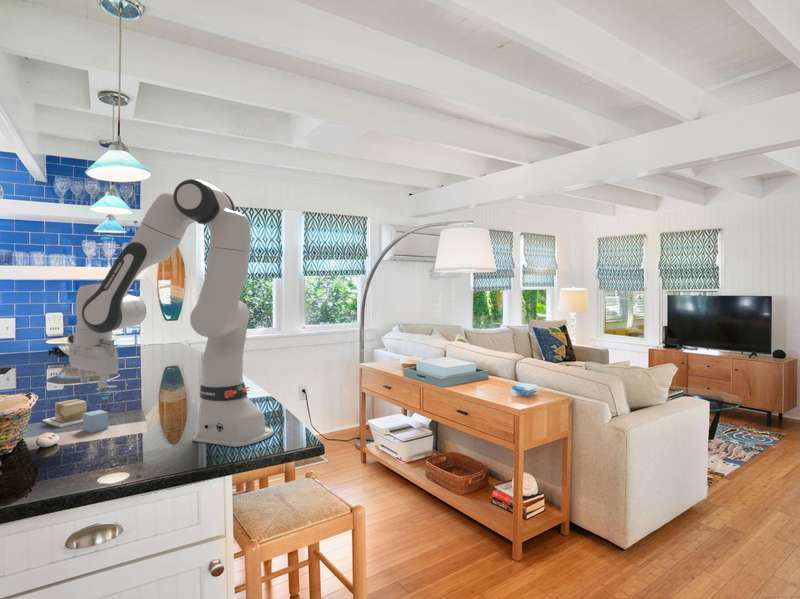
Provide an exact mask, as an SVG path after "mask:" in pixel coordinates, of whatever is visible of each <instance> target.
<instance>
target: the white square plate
mask: <svg viewBox="0 0 800 599" xmlns="http://www.w3.org/2000/svg"><path fill="white" fill-rule="evenodd" d="M42 422H43V423H46V424H48V425H52V426H54V427H57V428H63V427H69V426H72V425H77V424H83V418H81V419H77V420H72V421H68V422H63V421H60V420H57V419H55V416H53V417H50V418H45V419H42Z"/></svg>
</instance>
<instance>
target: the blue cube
mask: <svg viewBox="0 0 800 599" xmlns="http://www.w3.org/2000/svg"><path fill="white" fill-rule="evenodd" d="M108 429H109V412H108V411H105V410H102V409H97V410H91V411H87V413H83V422H82V431H84V432H88V433H90V434H92V433H96V432H101V431H104V430H108Z"/></svg>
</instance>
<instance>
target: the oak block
mask: <svg viewBox="0 0 800 599" xmlns="http://www.w3.org/2000/svg"><path fill="white" fill-rule="evenodd" d="M87 409H88V408H87V401H86V400H82V399H79V398H75V399H69V400H64V401H59V402H54V410H55V411H54V413H55V414H54V417H55V419H57V420H60V421H63V422H68V421H72V420H77V419H81V418H83V413H87V412H88V410H87Z"/></svg>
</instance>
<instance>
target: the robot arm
mask: <svg viewBox="0 0 800 599" xmlns="http://www.w3.org/2000/svg"><path fill="white" fill-rule="evenodd" d="M235 209H236V208H235V204H234V202H233V200H232V198H231V197H230V196H229V195H228V194H227V193H225V192H224V191H222V190H221V189H219V188H218V187H216V186H214V185H213V184H210V183H208V182H205V181H203V180H201V179H196V178H192V179H191V178H189V179H185V180H183V181H181V182H180V183H178V185H177V186H176V187H175V189H174V191H173V193H171V192H164V193H161V194H160V195H158V196H157V197H156V198H155V199H154V201H153V202H152V204H151V205H150V207H149V208H148V210H147V211H146V214H145V215H144V217H143V219H142V221H141V223H140V225H139V227H138V229H137V230H136V232H135V234H134V235H133V237H132V239H131V240H130V241H129V242H128V244H127V245H126V246H125V247H124V248H123V249H122V250H121V251H120V254H119V255H118V256H117V258H116V260H115V261H114V262H113V265H112V266H111V268H110V269H109V271H108V273H107V274H106V275H105V278H104V279H103V281H102V282H91V283H90V282H89V283H85V284H83V285H81V286H79V287H78V290H77V293H76V295H75V296H76V297H75V317H76V325H75V328H74V329H75V330H74V332H73V333H71V334H69V335H67V343H68V344H69V346H68V361H69V364H70V366H71V367H72V368H76V369H77V371H78V375H79V377H80V383H81V384H83V385H86V384H87V385H88V384H90V383H91V382H90V378H91V377H89V374H88V372H89V371H90V372H92V373H93V372H94V373H98V376H99V380H98V381H97V387H98V388H99V389H105V388H107V387H108V380H109V378H110V375H112V374H116V373H118V371H119V367H120V366H119V355H118V349H117V348H116V346H115V345H114V344H113V331H115V330H116V331H117V330H122V329H126V328H127V329H128V328H132V327H136V326H137V325H140V324H141V323H142V322H143V321H144V320H145V318H146V316H147V307H146V305H145V302H144V301H143V299H141V297H139V296H136V295H132V294H128V292H129V290H130V289H131V287H132V285H133V283H134V282H135V281H136V279H137V278H138V275H139V274H141V272H143V271H144V270H146V269H147V268H148V267H151V266H153V265H156V264H158V263H161V262H164V261H167V260H169V258H171V257H172V256H173V255H174V253H176V251H177V249H178V247H179V245H180V243H181V241H182V239H183V237H184V235H185V232H186V230H187V228H189V226H190V225H191V224H193V223H197V224H200V225H207V227H208V228H209V232H210V234H209V235H210V236H209V237H210V238H209V239H210V240H209V244H208V245H209V247H208V255H207V262H206V272H205V276H204V280H203V284H202V286H201V290H200V291H199V292H200V294H199V296H198V299H197V302H196V304H195V306H194V307H193V309H192V310H191V313H190V318H189V320H190V325H191V328H192V329H193V331H195V333H196V334H198V335H199V336H202V337H205V338H207V339H206V345H205V349H204V351H203V353H202V357H201V384H200V385H199V386H200V387H199V388H200V389H199V398H201V401H200V404H199V407H198V410H197V417H196V418H197V419H196V429H195V434H194V435H193V437H192V441H193V442H198V443H206V444H212V445H220V446H226V447H234V448H235V447H236V448H237V447H243V446H248V445H251V444H252V445H253V444H255V443H258V442H261V441H263V440H266V439H268V438H270V437H271V436H273V435H274V434H275V433H274V429H272V428H269V427H268V426H266V420H265V415H264V412H262V411H261V409H260V408H259V407H258V406H257V405H256V404H255V403H254V402H253V401H252V400H251V399H250V398H249V396H248V392H249V391H250V386H247V387H246V384H245V382H244V377H243V376H244V372H243V371H244V369H243V367H244V366H243V365H244V358H243V357H244V348H245V343H246V338H247V330H248V325H249V324H248V323H249V321H250V316H251V312H250V309H249V307H248V305H247V304H246V303H245V302H243V301H242V300H241V295H242V292H243V289H244V287H245V284H246V282H247V279H248V272H249V264H250V254H251V253H250V252H251V240H252V238H251V224H250V221H249V218H247V216H246V215H244V214H242V213H241V212H239V211H236V210H235Z"/></svg>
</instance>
